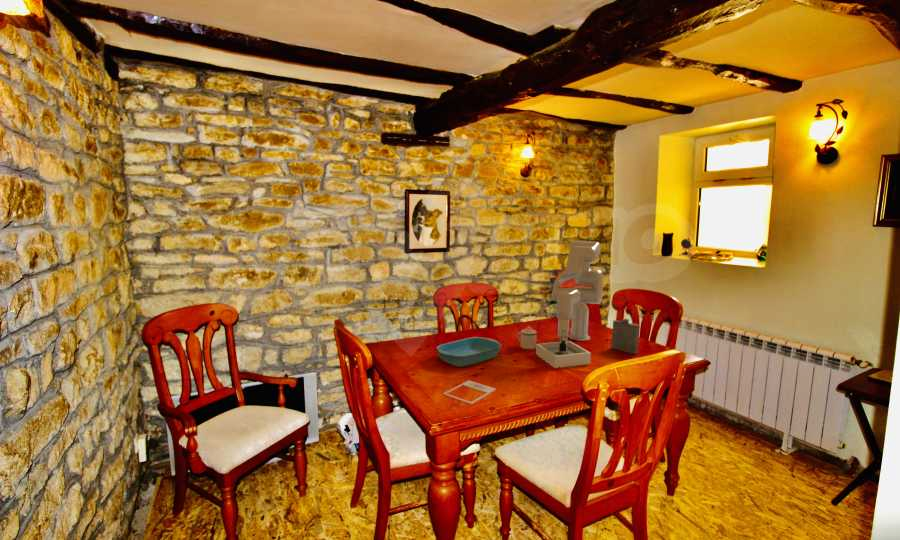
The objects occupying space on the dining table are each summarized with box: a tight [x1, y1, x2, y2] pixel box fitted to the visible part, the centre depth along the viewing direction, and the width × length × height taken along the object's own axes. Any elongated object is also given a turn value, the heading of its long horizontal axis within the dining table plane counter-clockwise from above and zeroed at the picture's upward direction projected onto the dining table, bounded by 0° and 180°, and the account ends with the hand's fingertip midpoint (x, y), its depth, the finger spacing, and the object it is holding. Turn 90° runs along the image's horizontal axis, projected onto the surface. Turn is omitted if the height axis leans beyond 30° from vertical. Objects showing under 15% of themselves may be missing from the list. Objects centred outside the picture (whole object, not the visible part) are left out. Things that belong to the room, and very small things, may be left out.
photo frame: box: [443, 379, 497, 405], centre depth 185 cm, size 15×1×18 cm
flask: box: [611, 318, 640, 355], centre depth 237 cm, size 4×14×18 cm, turn 43°
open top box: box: [535, 340, 592, 369], centre depth 225 cm, size 20×20×6 cm
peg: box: [558, 335, 568, 355], centre depth 224 cm, size 4×4×10 cm
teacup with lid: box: [516, 326, 538, 350], centre depth 244 cm, size 12×9×12 cm
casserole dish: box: [436, 336, 502, 368], centre depth 226 cm, size 37×22×7 cm, turn 130°
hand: (562, 349), depth 224 cm, fingers closed on peg, 4 cm apart
